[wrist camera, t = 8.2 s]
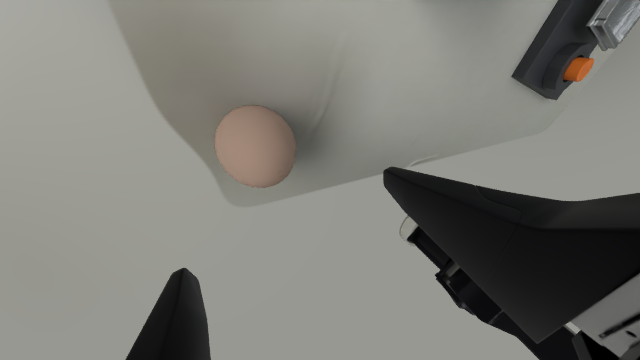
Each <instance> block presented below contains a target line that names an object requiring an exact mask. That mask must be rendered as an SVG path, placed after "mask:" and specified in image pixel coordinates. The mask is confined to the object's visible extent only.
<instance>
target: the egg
mask: <svg viewBox="0 0 640 360" xmlns="http://www.w3.org/2000/svg"><path fill="white" fill-rule="evenodd" d="M215 150H216V154H217V157H218V160H219V162H220V163H221V165H222V167H223V168H224V170H225V171H226V172H227V173H228V174H229V175H230V176H231V177H233V178H234V179H235V180H236V181H238V182H240V183H243V184H245V185H247V186H251V187H257V188H266V187H270V186H274V185H276V184H278V183H280V182H281V181H283V180H284V179H285V178H286V177H287V175H288V174H289V173H290V171H291V169H292V167H293V165H294V162H295V156H296V142H295V139H294V135H293V133H292V130H291V129H290V127H289V126H288V124H287V123H286V121H285V120H284V119H283V118H282V117H281V116H280V115H278V114H277V113H276V112H274V111H272V110H270V109H268V108H266V107H262V106H257V105H248V106H242V107H239V108H236V109H234V110H232V111H231V112H229V113H228V114H227V115H226V116H225V117H224V118H223V119H222V121H221V123H220V124H219V126H218V127H217V131H216V134H215Z"/></svg>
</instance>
